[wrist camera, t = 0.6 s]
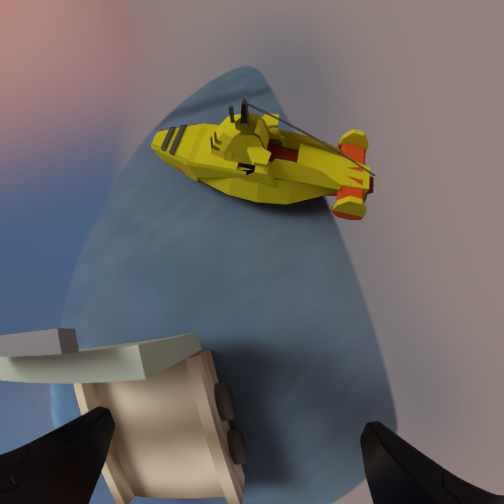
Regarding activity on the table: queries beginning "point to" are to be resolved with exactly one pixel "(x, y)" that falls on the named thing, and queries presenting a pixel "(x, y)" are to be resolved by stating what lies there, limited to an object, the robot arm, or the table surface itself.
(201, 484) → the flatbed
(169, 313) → the table surface
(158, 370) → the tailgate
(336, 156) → the toy boat
